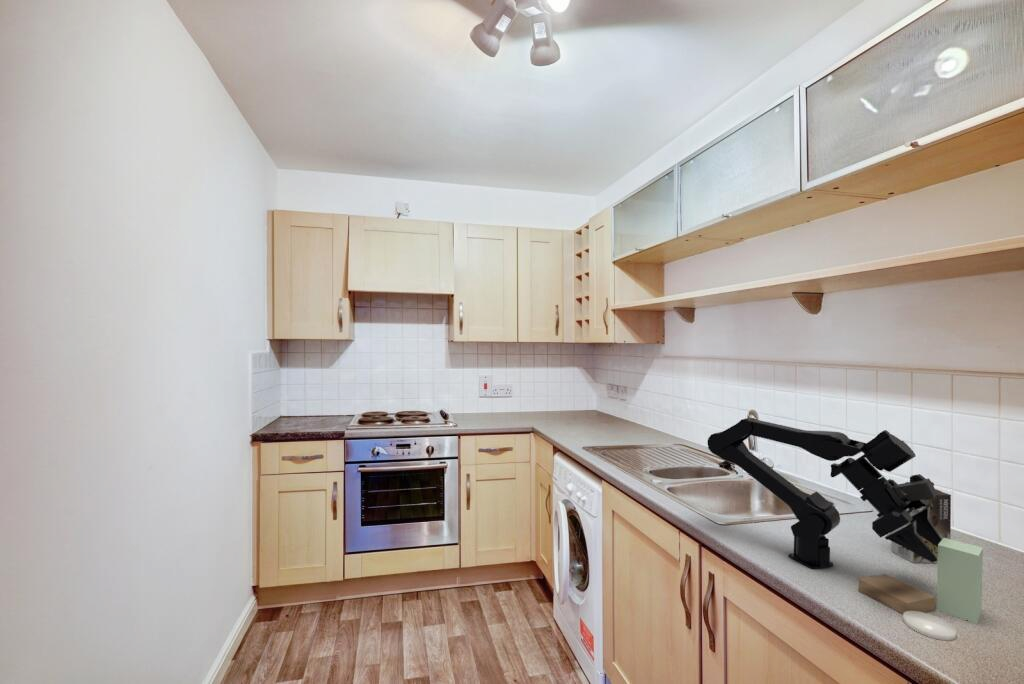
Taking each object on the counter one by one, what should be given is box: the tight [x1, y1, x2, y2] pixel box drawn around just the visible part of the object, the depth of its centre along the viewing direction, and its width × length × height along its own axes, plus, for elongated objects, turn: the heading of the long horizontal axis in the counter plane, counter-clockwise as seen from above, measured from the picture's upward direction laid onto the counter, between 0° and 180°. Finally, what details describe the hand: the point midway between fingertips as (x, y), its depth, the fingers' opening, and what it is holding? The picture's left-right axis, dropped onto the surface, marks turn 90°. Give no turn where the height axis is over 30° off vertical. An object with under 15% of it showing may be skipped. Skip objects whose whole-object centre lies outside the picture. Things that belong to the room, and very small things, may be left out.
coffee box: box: [890, 488, 952, 564], centre depth 110 cm, size 9×6×16 cm
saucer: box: [902, 611, 957, 642], centre depth 82 cm, size 7×7×1 cm
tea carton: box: [935, 538, 984, 625], centre depth 88 cm, size 6×6×12 cm
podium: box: [857, 573, 936, 615], centre depth 91 cm, size 9×8×2 cm
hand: (940, 554), depth 90 cm, fingers open, 9 cm apart
